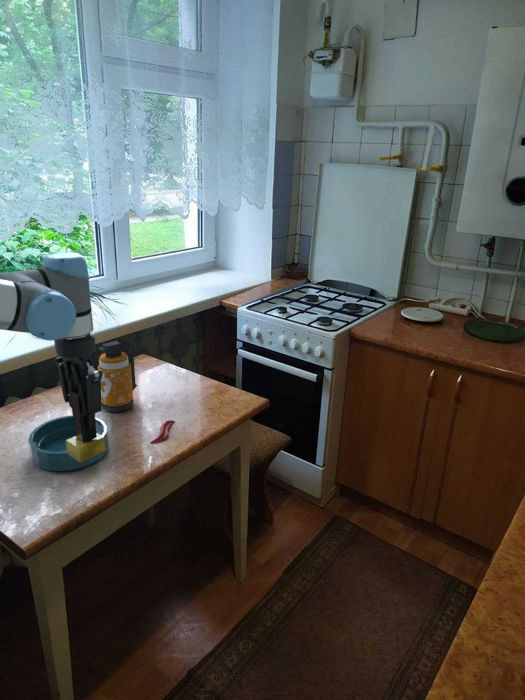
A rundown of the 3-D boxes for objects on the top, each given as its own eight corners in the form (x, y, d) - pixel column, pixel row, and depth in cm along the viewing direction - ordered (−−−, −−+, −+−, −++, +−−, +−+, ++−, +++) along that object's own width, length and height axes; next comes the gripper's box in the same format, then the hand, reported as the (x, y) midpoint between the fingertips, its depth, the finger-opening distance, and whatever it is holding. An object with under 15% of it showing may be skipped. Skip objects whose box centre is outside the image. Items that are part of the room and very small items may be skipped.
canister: (95, 406, 143) (88, 341, 136) (127, 394, 151) (123, 332, 144) (113, 417, 138) (107, 350, 130) (145, 403, 146) (142, 340, 138)
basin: (58, 483, 110) (55, 462, 108) (17, 454, 119) (14, 434, 117) (123, 450, 123) (121, 431, 121) (82, 426, 133) (80, 408, 130)
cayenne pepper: (157, 445, 125) (157, 439, 124) (142, 440, 127) (142, 434, 126) (184, 424, 135) (184, 418, 134) (170, 420, 137) (170, 414, 136)
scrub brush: (80, 463, 103) (73, 401, 98) (67, 454, 106) (59, 393, 101) (105, 450, 108) (99, 391, 102) (91, 442, 111) (85, 384, 105)
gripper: (114, 337, 96) (123, 442, 104) (68, 320, 104) (80, 418, 113) (79, 348, 90) (92, 457, 99) (34, 329, 99) (50, 431, 107)
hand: (86, 436), depth 106 cm, fingers closed on scrub brush, 2 cm apart
